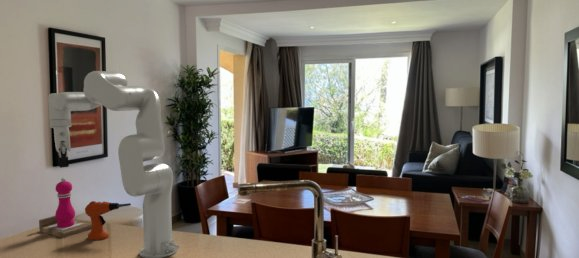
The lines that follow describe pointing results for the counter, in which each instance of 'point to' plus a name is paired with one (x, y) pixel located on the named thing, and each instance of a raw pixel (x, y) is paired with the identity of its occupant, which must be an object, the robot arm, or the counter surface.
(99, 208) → the toy drill
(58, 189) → the pepper mill
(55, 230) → the brown picture frame
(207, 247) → the counter surface
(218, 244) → the counter surface
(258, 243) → the counter surface
